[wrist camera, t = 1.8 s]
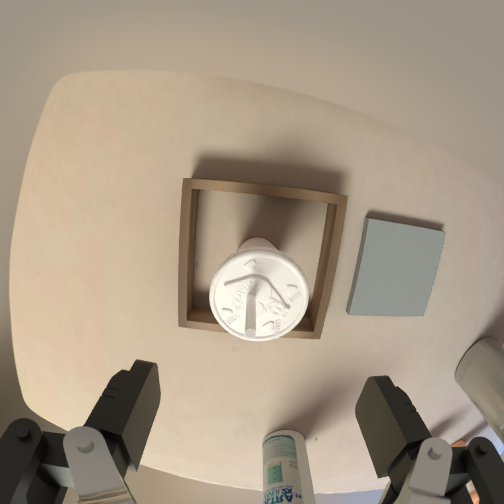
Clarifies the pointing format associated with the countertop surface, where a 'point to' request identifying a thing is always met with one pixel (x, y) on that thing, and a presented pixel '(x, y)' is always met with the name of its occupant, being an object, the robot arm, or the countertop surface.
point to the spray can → (286, 469)
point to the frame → (336, 202)
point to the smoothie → (258, 292)
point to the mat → (394, 269)
